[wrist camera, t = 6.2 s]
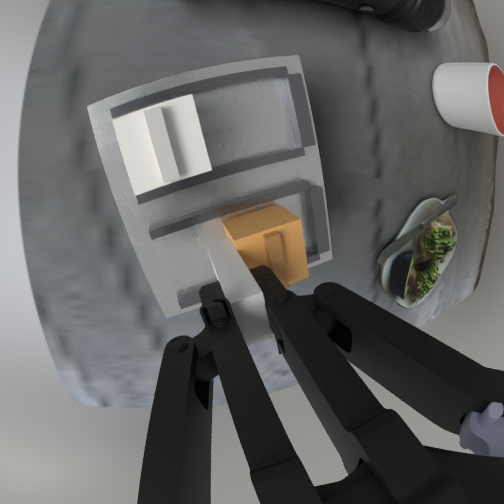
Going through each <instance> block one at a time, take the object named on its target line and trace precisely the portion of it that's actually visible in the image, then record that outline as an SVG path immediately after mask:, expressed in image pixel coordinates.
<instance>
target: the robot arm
mask: <svg viewBox="0 0 504 504" xmlns="http://www.w3.org/2000/svg"><path fill="white" fill-rule="evenodd" d="M206 246H207V249H208V253H209V256H210V259H211V262H212V265H213V268H214V271H215V274H216V277H217V280H218V281H216V282H213V283H210V284H207V285H204V286H201V289H200V291H199V295H200V299H201V303H202V305H201V307H200V314H201V316H202V319H203V321H204V323H205V328H204V329H203V331H202V332H201V333H200V334H198V335H197V336H195V337H194V338H191V337H189V336H178V337H175V338H173V339H172V340H170V341H169V342H168V343H167V345H166V347H165V350H164V354H163V358H162V363H161V367H160V372H159V376H158V381H157V386H156V391H155V396H154V401H153V406H152V411H151V417H150V422H149V427H148V433H147V439H146V445H145V451H144V457H143V464H142V471H141V478H140V485H139V493H138V502H137V504H211V493H210V492H211V489H210V488H211V484H210V483H211V433H212V403H213V378H214V377H216V376H217V375H219V376H220V380H221V383H222V386H223V390H224V393H225V396H226V400H227V403H228V406H229V409H230V412H231V415H232V418H233V422H234V425H235V427H236V431H237V434H238V436H239V439H240V442H241V445H242V448H243V451H244V454H245V457H246V459H247V462H248V465H249V468H250V477H251V480H252V483H253V486H254V489H255V491H256V494H257V496H258V499H259V501H260V504H504V371H501V370H496V369H491V368H486V367H484V366H482V365H480V364H478V363H477V362H475V361H473V360H471V359H470V358H468V357H466V356H465V355H463V354H461V353H460V352H458V351H456V350H455V349H453V348H451V347H449V346H448V345H446V344H444V343H442V342H441V341H439V340H437V339H435V338H434V337H432V336H430V335H429V334H427V333H425V332H423V331H421V330H420V329H418V328H416V327H414V326H413V325H411V324H409V323H407V322H406V321H404V320H402V319H400V318H399V317H397V316H395V315H393V314H392V313H390V312H388V311H386V310H384V309H383V308H381V307H379V306H377V305H376V304H374V303H372V302H370V301H368V300H367V299H365V298H363V297H361V296H359V295H358V294H356V293H354V292H352V291H350V290H349V289H347V288H345V287H343V286H341V285H340V284H337V283H334V282H327V283H322V284H320V285H318V286H317V287H316V288H315V290H314V294H311V295H305V296H297V295H296V294H295V293H294V292H292V291H289V290H286V288H285V287H284V286H283V284H282V283H281V282H280V280H279V279H278V278H277V277H276V275H275V274H274V273H273V271H272V270H271V269H270V268H269V267H267V266H265V265H260V266H258V267H255V268H252V269H248V268H247V266H246V264H245V263H244V261H243V260H242V258H241V256H240V255H239V253H238V251H237V250H236V248H235V247H234V245H233V243H232V242H231V240H230V238H229V237H227V238H224V239H221V240H218V241H215V242H212V243H209V244H206ZM272 332H273V333H274V335H275V338H276V342H277V346H278V350H279V354H283V356H284V358H285V359H286V361H287V363H288V365H289V367H290V369H291V370H292V372H293V374H294V376H295V377H296V379H297V381H298V383H299V385H300V386H301V388H302V390H303V392H304V393H305V395H306V397H307V399H308V400H309V402H310V404H311V406H312V408H313V409H314V411H315V413H316V415H317V416H318V418H319V420H320V422H321V423H322V425H323V427H324V428H325V430H326V432H327V434H328V435H329V437H330V439H331V441H332V442H333V444H334V446H335V447H336V449H337V451H338V452H339V454H340V456H341V458H342V461H343V464H344V466H345V469H346V471H347V473H348V476H347V477H346V478H344V479H343V480H341V481H338V482H334V483H329V484H325V485H320V486H315V487H314V485H313V484H312V482H311V480H310V478H309V476H308V474H307V472H306V470H305V468H304V466H303V464H302V462H301V460H300V458H299V457H298V455H297V454H296V452H295V450H294V448H293V446H292V444H291V442H290V440H289V438H288V436H287V434H286V431H285V430H284V427H283V425H282V423H281V421H280V419H279V417H278V414H277V412H276V410H275V408H274V406H273V404H272V401H271V399H270V397H269V395H268V393H267V390H266V388H265V386H264V384H263V381H262V379H261V377H260V375H259V372H258V370H257V368H256V366H255V363H254V361H253V359H252V356H251V354H250V352H249V349H248V346H250V345H253V344H256V343H259V342H261V341H264V340H267V339H269V338H272V337H273V333H272ZM281 352H282V353H281ZM346 359H347V360H348V361H349V362H351V363H352V364H353V365H355V366H356V367H357V368H359V369H360V370H361V371H363V372H364V373H365V374H367V375H368V376H369V377H371V378H372V379H373V380H375V381H376V382H378V383H379V384H380V385H382V386H383V387H384V388H386V389H387V390H388V391H390V392H391V393H392V394H394V395H395V396H397V397H398V398H399V399H401V400H402V401H403V402H405V403H406V404H408V405H409V406H410V407H412V408H413V409H415V410H416V411H417V412H419V413H420V414H422V415H423V416H424V417H426V418H427V419H429V420H430V421H432V422H433V423H434V424H436V425H438V426H439V427H441V428H443V429H444V430H447V431H449V432H451V433H454V434H457V435H459V436H460V446H461V447H462V448H464V449H470V450H472V451H473V452H474V454H467V453H462V452H455V451H450V450H444V449H439V448H434V447H429V446H423V445H422V444H421V443H420V441H419V440H418V439H417V437H416V436H415V435H414V433H413V432H412V431H411V430H410V428H409V427H408V426H407V424H406V423H405V422H404V421H403V419H402V418H401V417H400V416H399V415H398V413H397V412H396V411H394V410H392V409H385V408H384V407H383V406H382V405H381V404H380V403H379V401H378V400H377V399H376V397H375V396H374V395H373V393H372V392H371V391H370V389H369V388H368V387H367V386H366V384H365V383H364V382H363V380H362V379H361V378H360V376H359V375H358V374H357V373H356V372H355V370H354V369H353V367H352V366H351V365H350V363H349V362H348V361H347V360H346Z"/></svg>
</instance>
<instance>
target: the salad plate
mask: <svg viewBox="0 0 504 504" xmlns="http://www.w3.org/2000/svg"><path fill="white" fill-rule="evenodd" d="M456 203H457V196H456V195H455V194H453V195H451V196H450V197H448V198H447V199H446V200H443V201H441V200H439V199H438V198H429V199H426V200H423V201H421V202H420V203H419V204H418V205H417V206H416V208H415V209H414V210H413V211H412V212H411V214H410V215H409V217H408V219H407V220H406V222H405V223H404V225H403V226H402V228H401V229H400V230H399V232H398V233H397V235H396V236H395V237H394V239H393V240H392V242H391V243H390V244H389V245H388V246H387V247H386V248H385V249H384V250H383V251H382V252H381V254H380V256H379V258H378V260H377V263H379V264H380V268H379V281H380V285H381V287H382V289H383V291H384V292H385V293H386V294H387V295H388V296H389V297H391V298H392V299H393V300H395V301H396V302H397V303H398V304H399V305H400V306H402V307H404V308H413V307H415V306H417V305H418V304H420V303H421V302H422V301H423V300H424V299H425V298H426V297H427V296H428V295H429V293H430V292H431V290H432V289H433V287H434V285H435V284H436V282H437V280H438V279H439V277H440V276H441V274H442V272H443V271H444V269H445V268H446V266H447V265H448V263H449V261H450V260H451V258H452V256H453V254H454V251H455V248H456V243H457V230H456V227H455V225H454V223H453V221H452V219H451V217H450V215H449V212H448V211H449V209H450V208H452V207H453V206H454V205H456ZM435 260H437V262H436V261H435ZM417 262H418V264H416V263H417ZM435 262H436V263H435Z"/></svg>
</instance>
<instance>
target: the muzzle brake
mask: <svg viewBox="0 0 504 504" xmlns="http://www.w3.org/2000/svg"><path fill="white" fill-rule="evenodd" d="M319 1H324V2H328V3H332V4H336V5H340V6H343V7H347V8H351V9H354V10H357V11H360V12H364V13H367V14H373V15H374V16H375V17H376V18H378V19H380V20H381V21H383V22H386V23H389V24H391V25H394V26H396V27H399V28H401V29H404V30H406V31H410V32H432V31H436V30H438V29H440V28H441V27H442V26H443V25H444V24H445V23H446V22H447V20H448V18H449V16H450V12H451V2H450V0H319Z"/></svg>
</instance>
